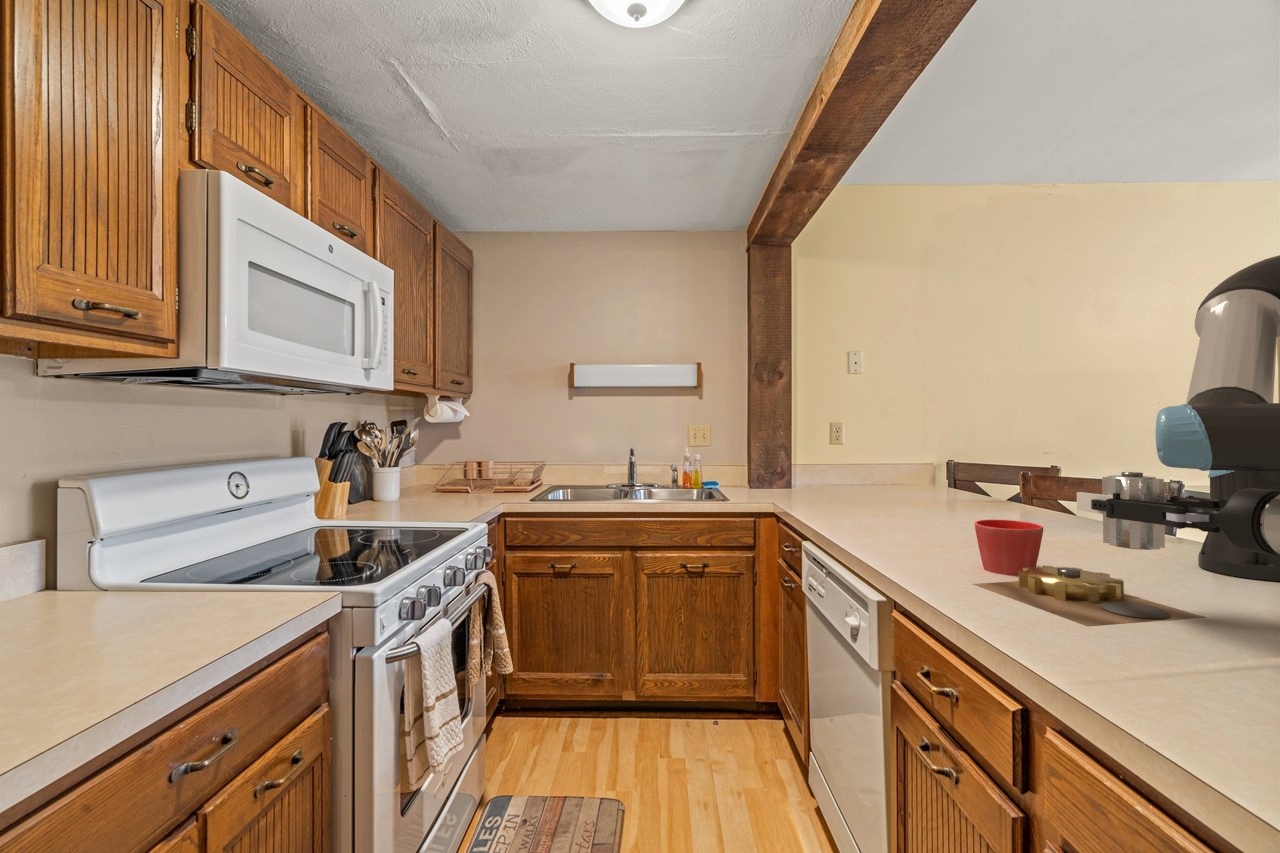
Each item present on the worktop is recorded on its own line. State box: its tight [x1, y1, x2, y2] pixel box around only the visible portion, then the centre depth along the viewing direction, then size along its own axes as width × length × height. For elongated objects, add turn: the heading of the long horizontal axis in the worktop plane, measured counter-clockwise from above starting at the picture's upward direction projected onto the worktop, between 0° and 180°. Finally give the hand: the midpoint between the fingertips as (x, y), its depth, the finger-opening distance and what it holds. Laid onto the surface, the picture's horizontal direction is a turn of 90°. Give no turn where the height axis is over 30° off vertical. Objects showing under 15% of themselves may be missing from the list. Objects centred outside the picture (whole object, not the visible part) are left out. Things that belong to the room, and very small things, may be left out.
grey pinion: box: [1101, 471, 1166, 551], centre depth 86 cm, size 7×7×11 cm
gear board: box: [972, 580, 1206, 627], centre depth 93 cm, size 19×22×1 cm
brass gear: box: [1017, 565, 1125, 604], centre depth 97 cm, size 14×14×4 cm
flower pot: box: [974, 519, 1044, 577], centre depth 111 cm, size 11×11×10 cm
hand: (1100, 500), depth 91 cm, fingers closed on grey pinion, 7 cm apart
